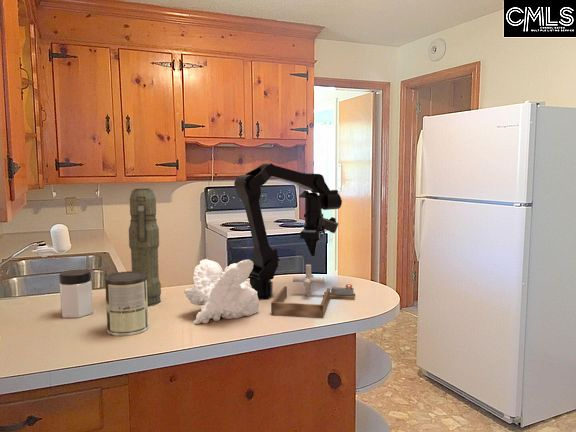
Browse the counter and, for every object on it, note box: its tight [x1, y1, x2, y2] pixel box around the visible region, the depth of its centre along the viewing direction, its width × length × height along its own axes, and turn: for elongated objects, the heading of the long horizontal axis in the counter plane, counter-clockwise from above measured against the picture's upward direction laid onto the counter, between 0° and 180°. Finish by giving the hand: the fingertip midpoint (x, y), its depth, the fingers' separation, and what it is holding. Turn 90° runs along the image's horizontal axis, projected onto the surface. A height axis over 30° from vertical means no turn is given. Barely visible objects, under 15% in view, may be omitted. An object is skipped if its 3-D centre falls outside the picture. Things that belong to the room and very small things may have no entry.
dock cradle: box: [270, 285, 356, 319], centre depth 142 cm, size 22×23×4 cm
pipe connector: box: [292, 264, 325, 297], centre depth 152 cm, size 10×10×10 cm
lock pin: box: [330, 283, 355, 296], centre depth 150 cm, size 7×2×4 cm, turn 79°
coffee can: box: [104, 270, 150, 337], centre depth 121 cm, size 10×10×14 cm
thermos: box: [128, 188, 162, 307], centre depth 144 cm, size 9×12×35 cm
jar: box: [58, 268, 94, 319], centre depth 134 cm, size 9×8×12 cm
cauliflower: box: [183, 258, 260, 325], centre depth 132 cm, size 19×20×20 cm
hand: (313, 255), depth 162 cm, fingers closed
